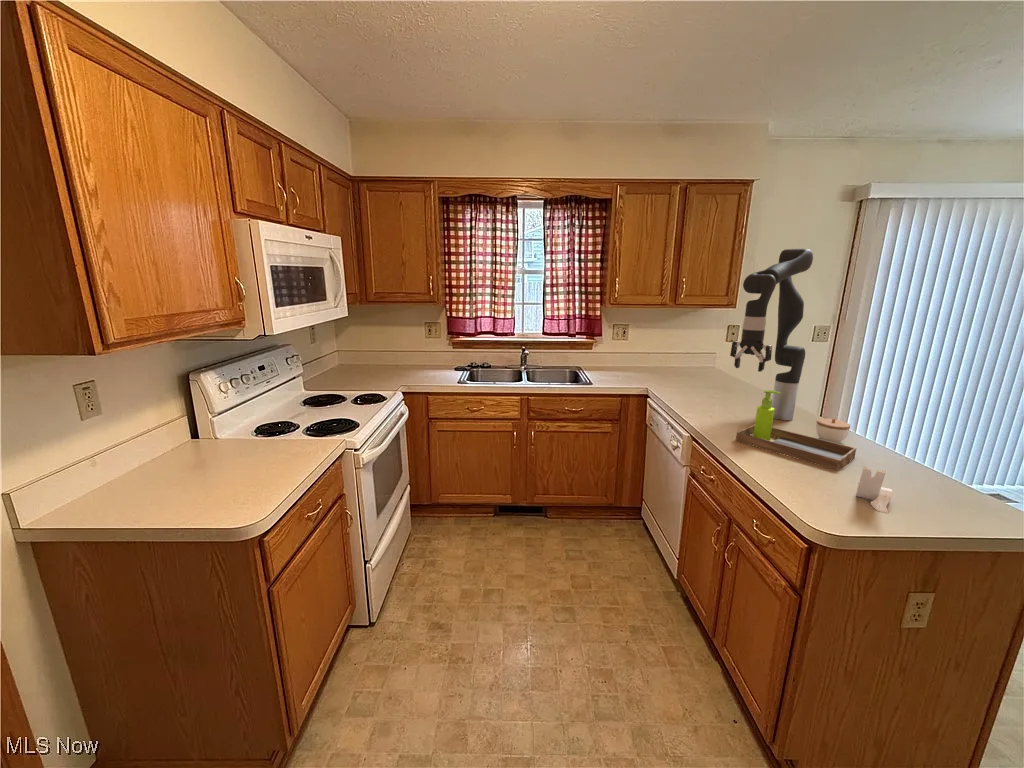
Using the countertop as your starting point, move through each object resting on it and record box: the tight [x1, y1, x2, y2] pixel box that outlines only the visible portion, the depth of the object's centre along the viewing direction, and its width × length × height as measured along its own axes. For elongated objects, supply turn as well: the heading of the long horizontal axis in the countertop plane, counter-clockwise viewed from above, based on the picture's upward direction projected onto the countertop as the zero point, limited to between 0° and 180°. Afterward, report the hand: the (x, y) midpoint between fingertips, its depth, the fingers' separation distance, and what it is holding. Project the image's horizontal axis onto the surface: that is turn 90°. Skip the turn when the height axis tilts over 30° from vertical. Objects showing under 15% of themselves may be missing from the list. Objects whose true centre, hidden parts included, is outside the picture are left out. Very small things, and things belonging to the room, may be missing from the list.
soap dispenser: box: [752, 389, 781, 441], centre depth 172 cm, size 6×7×20 cm
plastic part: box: [855, 466, 893, 514], centre depth 124 cm, size 8×10×12 cm
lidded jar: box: [815, 417, 851, 444], centre depth 172 cm, size 11×11×9 cm
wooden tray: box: [735, 423, 857, 471], centre depth 165 cm, size 18×34×4 cm, turn 39°
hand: (748, 369), depth 172 cm, fingers open, 8 cm apart
